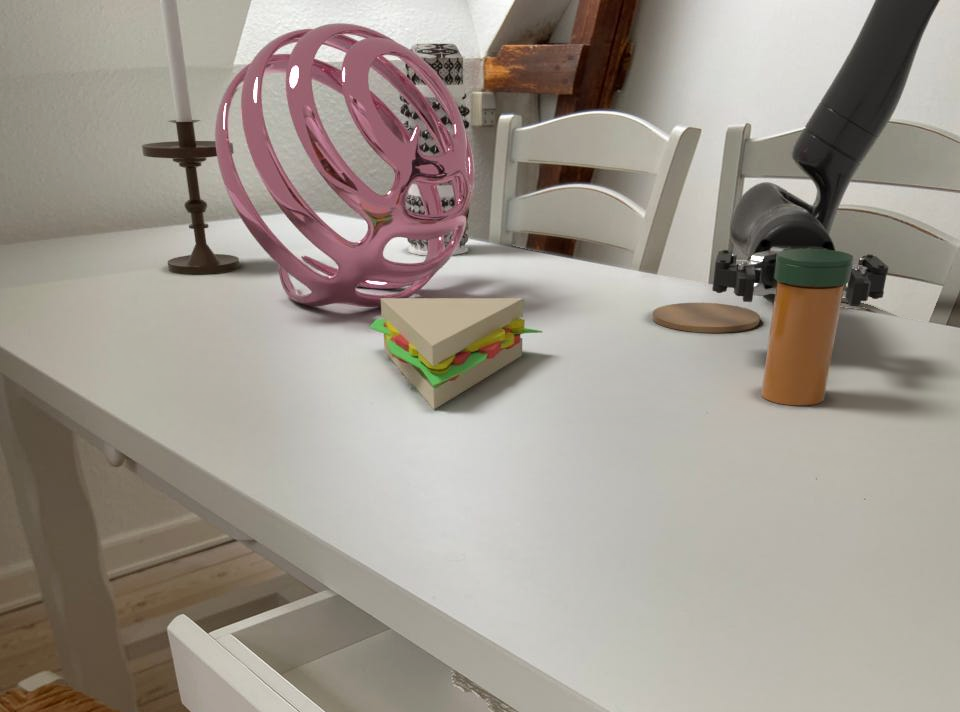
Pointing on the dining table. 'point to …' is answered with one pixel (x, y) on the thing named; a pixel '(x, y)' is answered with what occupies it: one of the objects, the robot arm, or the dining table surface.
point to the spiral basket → (384, 137)
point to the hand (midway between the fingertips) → (803, 291)
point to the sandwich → (450, 340)
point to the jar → (801, 343)
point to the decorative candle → (451, 72)
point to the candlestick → (187, 155)
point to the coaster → (706, 317)
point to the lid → (813, 267)
